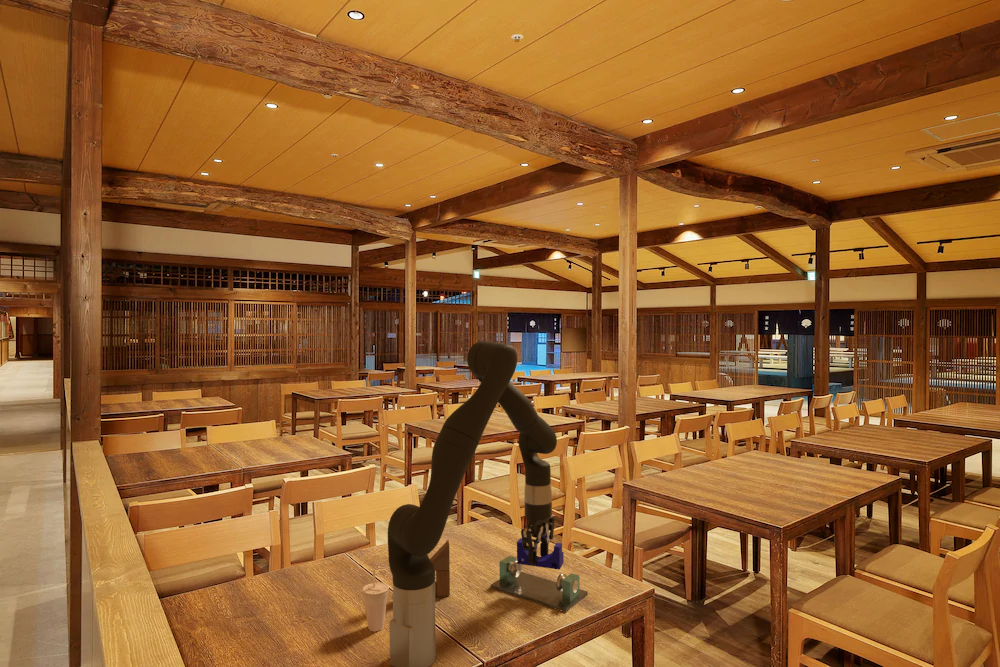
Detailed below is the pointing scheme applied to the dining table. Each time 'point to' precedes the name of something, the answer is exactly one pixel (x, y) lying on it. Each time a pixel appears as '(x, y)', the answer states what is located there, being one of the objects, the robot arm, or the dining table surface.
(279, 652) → the dining table surface
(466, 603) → the dining table surface
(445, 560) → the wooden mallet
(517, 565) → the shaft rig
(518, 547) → the blue curved bracket
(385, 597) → the smoothie
